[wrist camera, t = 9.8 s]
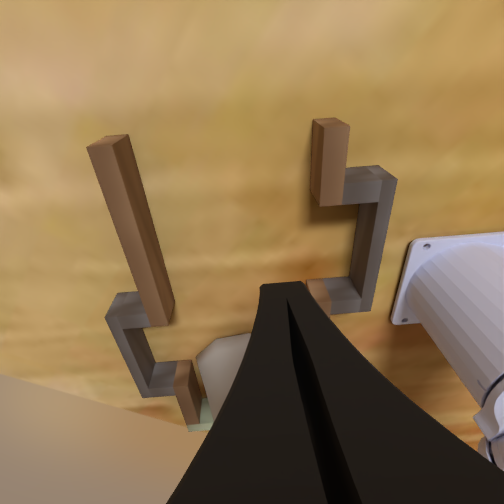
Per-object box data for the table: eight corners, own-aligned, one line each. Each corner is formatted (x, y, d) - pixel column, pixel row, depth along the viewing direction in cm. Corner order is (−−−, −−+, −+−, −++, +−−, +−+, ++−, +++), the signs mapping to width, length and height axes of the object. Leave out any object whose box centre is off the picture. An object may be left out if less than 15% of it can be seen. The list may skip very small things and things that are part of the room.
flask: (226, 392, 29) (222, 525, 21) (181, 351, 26) (154, 493, 17) (292, 366, 27) (316, 500, 19) (253, 319, 24) (262, 459, 16)
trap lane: (386, 113, 16) (409, 121, 14) (340, 393, 30) (348, 418, 28) (54, 140, 16) (26, 152, 14) (164, 408, 30) (159, 434, 28)
